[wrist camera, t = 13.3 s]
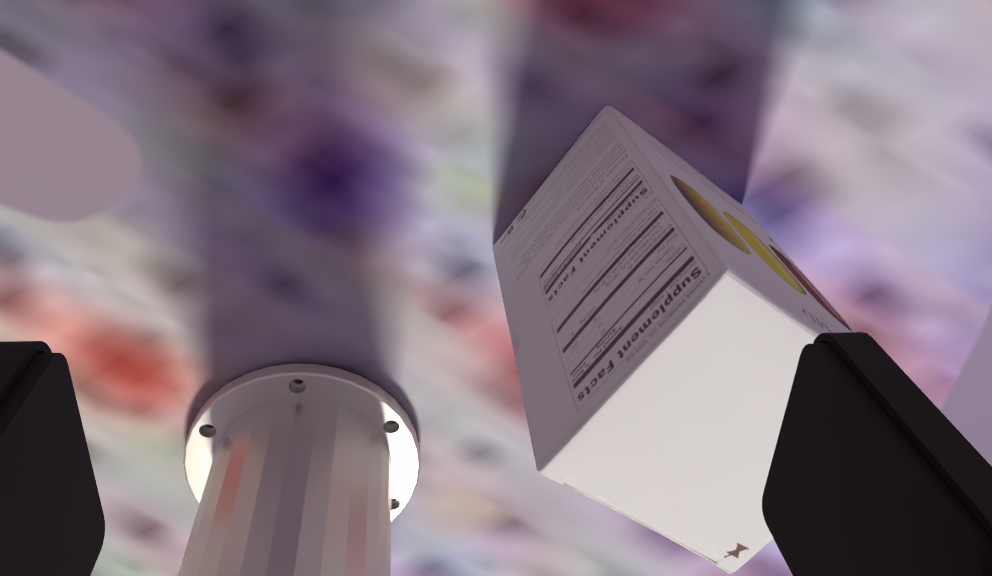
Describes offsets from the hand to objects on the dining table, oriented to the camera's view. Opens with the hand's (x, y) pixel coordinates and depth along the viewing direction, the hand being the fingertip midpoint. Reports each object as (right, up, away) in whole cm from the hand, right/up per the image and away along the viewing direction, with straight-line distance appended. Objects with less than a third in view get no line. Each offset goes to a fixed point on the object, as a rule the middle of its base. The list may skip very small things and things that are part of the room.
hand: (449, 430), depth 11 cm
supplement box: (+7, +5, +31) cm, 32 cm away
